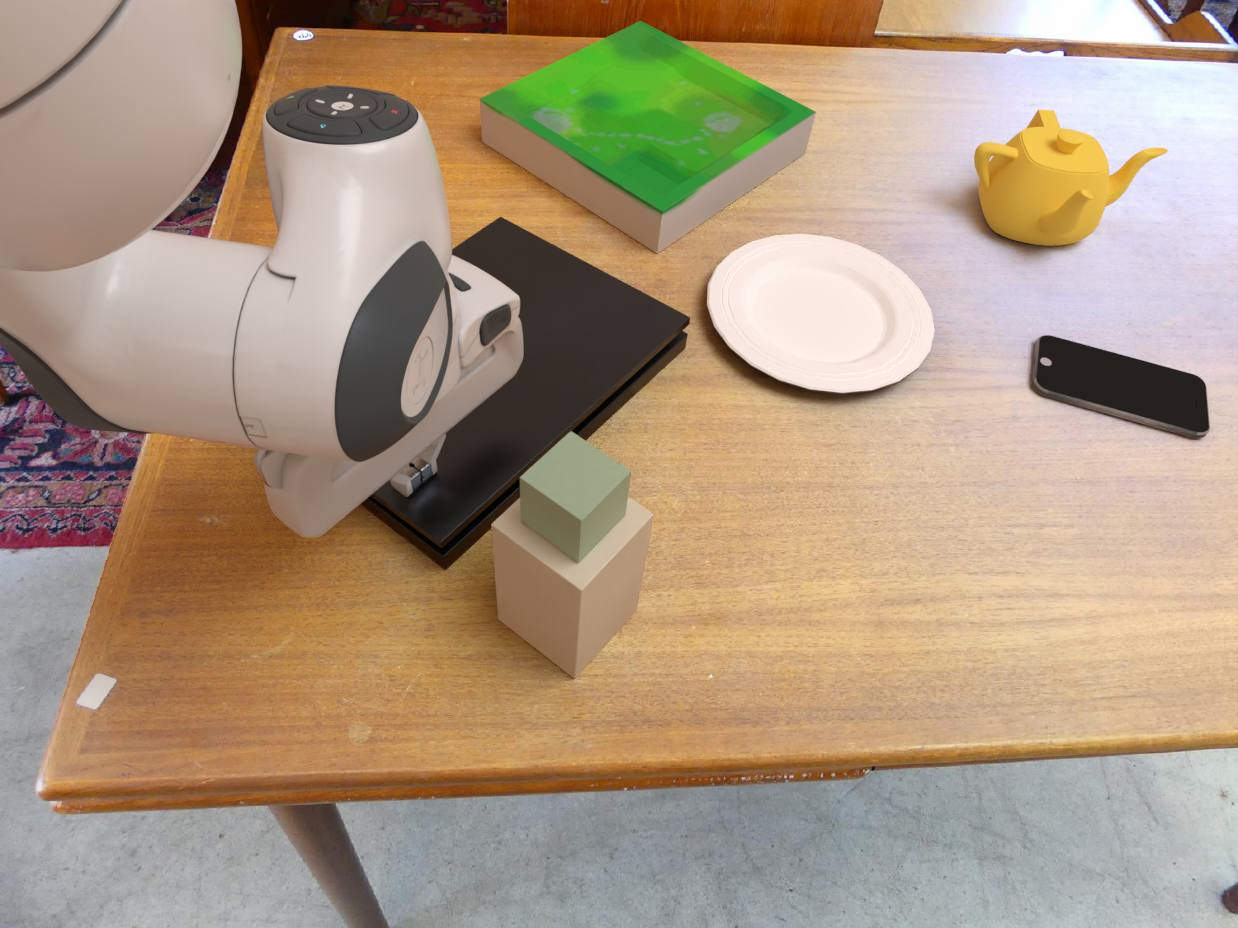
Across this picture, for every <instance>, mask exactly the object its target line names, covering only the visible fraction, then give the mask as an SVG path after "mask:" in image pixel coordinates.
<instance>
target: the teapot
mask: <svg viewBox="0 0 1238 928" xmlns="http://www.w3.org/2000/svg"><path fill="white" fill-rule="evenodd" d="M1168 152H1169V150H1168V149H1167V148H1165V147H1149V148H1145V149H1142V150H1140V151H1138V152H1137V153H1134V154H1133V155H1132V156H1131V157H1130V158H1129V159H1128V160H1127V161H1126V162H1125V163H1124V164H1123V165H1122V166H1121V167H1120V168H1119V169H1118V170H1116V171H1115V172H1114V173H1112V174H1110V165H1109V160H1108V158H1107V156H1106V153H1105V152H1104V150H1103V147H1102V146H1101V144H1100V142H1099V141H1098V140H1097V139H1096V138H1095V137H1094V136H1092V135H1090V134H1088V133H1085V132H1082V131H1079V130H1076V129H1075V130H1074V129H1071V128H1063V127H1061V126H1060V122H1059V120H1058V118H1057V115H1056V111H1055V110H1051V109H1037V111H1036V112H1035V113H1034V115H1033V117H1032V119H1031V120H1030V122H1029V123H1028V125H1027V126H1026V128H1024V129H1022V130H1021V131H1019V132H1018V133H1017V134H1015V135H1014V136H1013V137H1012V138H1011V139H1009V140H1008V141H1007V142H1006V143H1005V144H1002V143H999V142H992V141H987V142H983V143H980V144H978V146H976V148H975V151H974V155H973V163H974V167H975V170H976V174H977V177H978V179H979V180H978V195H979V202H980V207H981V210H982V213H983V217H984V218H985V221H986V223H987V225H988V226H989V228H990V229H991V230H993V231H994V233H996V234H998V235H999V236H1002V237H1003V238H1007V239H1010V240H1013V241H1017V242H1020V243H1024V244H1030V245H1034V246H1035V245H1036V246H1051V247H1052V246H1053V247H1055V246H1067V245H1072V244H1075V243H1077V242H1080V241H1082V240H1084V239H1086V238H1087V237H1089V236H1090V235H1092V234H1093V233H1094V232H1095V231H1096V229H1097V227H1098V226H1099V224H1100V222H1101V220H1102V217H1103V214H1104V212H1105V208H1106V207H1109V206H1110V205H1112V204H1114V203H1115V202H1116V201H1117V200H1119V199H1120V198H1121V197H1122V196H1123V194H1124V193H1125V192H1126V191H1127V190H1128V188H1129V187H1130V185H1131V183H1132V182H1133V180H1134V179H1135V177H1136V175H1137V174H1138V173H1139V171H1141V169H1142V168H1143V167H1144V166H1145V165H1146V164H1147V163H1149V162H1150V161H1152V160H1153V159H1156V158H1158V157H1161V156H1163V155H1165V154H1167V153H1168Z"/></svg>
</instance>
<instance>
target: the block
mask: <svg viewBox="0 0 1238 928" xmlns="http://www.w3.org/2000/svg"><path fill="white" fill-rule="evenodd" d="M631 477H632V470H631V469H629V468H627V467H626V466H625V465H623V464H621V463H620V462H619V461H617V460H615V459H614V458H612V457H611V456H609V455H608V454H607V453H605V452H604V451H602V450H601V449H599V448H598V447H596V446H595V445H593V444H591V443H590V442H589V441H587V440H586V441H585V440H584V439H582V438H581V437H579V436H578V435H576V434H575V433H573V432H572V431H570V432H569V433H568V434H567V435H566V436H565V437H564V438H562V439H561V440H560V441H559V442H558V443H557V444H556V445H555V446H554V447H553V448H551V449H550V450H549V451H548V452H547V453H546V454H545V455H544V456H543V457H541V458H540V459H539V460H538V461H537V462H536V463H535V464H534V465H533V466H532V467H530V468H529V469H528V470H527V471H526V472H525V473H524V474H523V475H522V476H520V510H521V522H522V523H523V524H524V525H526V526H527V527H529V528H530V529H531V530H533V531H534V532H536V533H537V534H538V535H540V536H541V537H542V538H544V539H545V540H547V541H548V542H549V543H551V544H552V545H554V546H555V547H556V548H558V549H559V550H560V551H562V552H563V553H565V554H566V555H567V556H569V557H570V558H571V559H573V560H574V561H576V562H577V563H580V562H581V561H582V560H583V559H584V557H585V556H586V555H587V554H588V553H589V552H590V551H591V550H592V549H593V548H594V547H595V546H596V545H597V544H598V543H599V542H600V541H601V540H602V539H603V538H604V537H605V536H606V535H607V534H608V533H609V532H610V531H611V530H612V529H613V528H614V527H615V526H616V525H617V524H618V523H619V521H620V520H621V519H622V518H623V517H624V516H625V515H626V507H627V500H628V497H629V492H630V484H631Z"/></svg>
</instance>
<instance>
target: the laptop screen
mask: <svg viewBox="0 0 1238 928" xmlns="http://www.w3.org/2000/svg"><path fill="white" fill-rule="evenodd" d="M452 255H454V256H456V257H458V258H460V259H462V260H464V261H466V262H468V263H470V264H472V265H474V266H476V267H478V268H479V269H481V270H483V271H485V272H486V273H488V274H489V275H491V276H493V277H494V278H496V279H497V280H499V281H500V282H502V283H503V284H504V285H506V286H507V287H508V288H510V289H511V290H512V291H514V292H515V293H516V294H517V295H518V296H519V298H520V312H519V315H518V317H519V318H520V321H521V324H522V331H523V347H524V352H523V361H522V363H521V365H520V367H519V369H518V371H517V373H516V375H515V376H514V377H513V378H512V379H511V380H509V381H508V382H507V383H506V384H504V385H503V386H502V387H501V388H500V389H498V390H497V391H496V392H495V393H493V394H492V395H491V396H490V397H489V398H487V399H486V400H485V401H484V402H483V403H481V404H480V405H479V406H478V407H477V408H475V409H474V410H473V411H472V412H471V413H469V414H468V415H467V416H466V417H465V418H463V419H462V420H461V421H460V422H459V423H457V424H456V425H455V426H454V427H452V428H451V429H450V430H449V431H448V432H446V438H445V440H444V443H443V445H442V447H441V450H440V452H439V455H438V457H437V458H436V463H437V470H438V471H437V472H436V473H435V474H434V475H433V476H431V477H430V478H429V479H428V480H427V481H425V482H424V483H423V484H422V485H420V486H419V487H418V488H417V489H416V490H415V491H414V492H412V493H411V494H410V495H409V496H408V497H405V496H404V495H402V494H401V493H400V492H398V491H397V490H396V489H395V488H394V487H393V486H392V485H391V483H390V480H389V481H387V482H386V483H385V484H384V485H383V486H381V487H380V488H379V489H378V490H377V491H375V492H374V493H373V494H372V495H371V497H373V498H374V499H375V500H377V501H378V502H379V503H381V504H382V505H383V506H385V507H386V508H388V509H389V510H390V511H392V512H393V513H394V514H396V515H397V516H398V517H400V518H401V519H403V520H404V521H405V522H407V523H408V524H409V525H411V526H412V527H413V528H415V529H416V530H417V531H419V532H420V533H422V534H423V535H424V536H426V537H427V538H428V539H430V540H431V541H432V542H434V543H435V544H437V545H438V546H439V547H441V548H443V547H444V546H445V545H446V544H447V543H449V542H450V541H451V540H452V539H453V538H454V537H455V536H456V535H457V534H459V533H460V532H461V531H462V530H463V529H464V528H465V527H466V526H467V525H468V524H470V523H471V522H472V521H473V520H474V519H475V518H476V517H477V516H478V515H479V514H481V513H482V512H483V511H484V510H485V509H486V508H487V507H488V506H489V505H491V504H492V503H493V502H494V501H495V500H496V499H497V498H498V497H499V496H500V495H502V494H503V493H504V492H505V491H506V490H507V489H508V488H509V487H510V486H511V485H513V484H514V483H515V482H516V481H517V480H518V479H519V478H520V476H522V475H523V474H524V473H525V472H526V471H527V470H528V469H529V468H530V467H532V466H533V465H534V464H535V463H536V462H537V461H538V460H539V459H540V458H541V457H543V456H544V455H545V454H546V453H547V452H548V451H549V450H550V449H551V448H553V447H554V446H555V445H556V444H557V443H558V442H559V441H560V440H561V439H562V438H564V437H565V436H566V435H567V434H568V433H569V432H570V431H572V430H573V429H574V428H575V427H577V426H578V425H579V424H580V423H581V422H582V421H583V420H584V419H585V418H587V417H588V416H589V415H590V414H591V413H592V412H593V411H594V410H595V409H596V408H598V407H599V406H600V405H601V404H602V403H603V402H604V401H605V400H606V399H608V398H609V397H610V396H611V395H612V394H613V393H614V392H615V391H616V390H617V389H619V388H620V387H621V386H622V385H623V384H624V383H625V382H626V381H627V380H628V379H630V378H631V377H632V376H633V375H634V374H635V373H636V372H637V371H638V370H640V369H641V368H642V367H643V366H644V365H645V364H646V363H647V362H648V361H649V360H651V359H652V358H653V357H654V356H655V355H656V354H657V353H658V352H659V351H660V350H662V349H663V348H664V347H665V346H666V345H667V344H668V343H669V342H670V341H672V340H673V339H674V338H675V337H676V336H677V335H678V334H679V333H680V332H681V331H684V330H685V329H686V328H687V327H688V326H689V325H690V324H691V317H690V316H688V315H687V314H685V313H682V312H681V311H679V310H677V309H675V308H673V307H672V306H669V305H668V304H666V303H664V302H662V301H660V300H658V299H656V298H655V297H653V296H651V295H649V294H647V293H645V292H643V291H641V290H639V289H638V288H635V287H634V286H632V285H630V284H628V283H627V282H625V281H623V280H621V279H620V278H617V277H615V276H613V275H612V274H609V273H608V272H606V271H604V270H602V269H600V268H598V267H596V266H595V265H593V264H590V263H589V262H587V261H585V260H583V259H581V258H580V257H578V256H576V255H573V254H572V253H570V252H569V251H567V250H564V249H563V248H560V247H559V246H557V245H555V244H553V243H551V242H550V241H548V240H546V239H544V238H541V237H539V236H538V235H536V234H535V233H532V232H530V231H528V230H527V229H525V228H523V227H521V226H519V225H517V224H515V223H514V222H512V221H510V220H508V219H506V218H504V217H503V216H499V217H497V218H496V219H494V220H493V221H492V222H490V223H488V224H487V225H486V226H484V227H483V228H481V229H480V230H478V231H477V232H476V233H473V234H472V235H471V236H469V237H468V238H466V239H465V240H463V241H462V242H460V243H459V244H458V245H456V246H455V247H452Z"/></svg>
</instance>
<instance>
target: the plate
mask: <svg viewBox="0 0 1238 928" xmlns="http://www.w3.org/2000/svg"><path fill="white" fill-rule="evenodd" d="M706 291H707V294H706V308H707V312H708V315H709V317H710V321H711V324H712V327H713V328H714V330H715V331H716V333H717V334H718V336H719V337H720V338H721V339H722V341H723V342H724V344H725V345H726V346H727V348H728V350H731V351H732V352H733V353H734V354H735V355H736V356H738V357H739V358H740V359H741V360H742V361H743V362H744V363H746V364H747V365H749V366H750V367H751V368H753V369H755V370H756V371H759V372H761V373H763V374H764V375H766V376H768V377H770V378H772V379H774V380H776V381H777V382H780V383H784V384H787V385H790V386H793V387H797V388H800V389H803V390H807V391H809V392H819V393H828V394H837V395H846V394H859V393H868V392H875V391H877V390H881V389H883V388H886V387H889V386H892V385H895V384H898V383H900V382H901V381H902V380H904V379H906V377H908V376H910V375H911V374H912V373H914V372H916V371H917V370H918V369H919V368H920V366H921V365H922V363H923V362H924V361H925V359H926V358H927V356H928V355H929V353H930V352H931V351H932V345H933V340H934V336H935V332H936V328H935V325H934V318H933V313H932V309H931V307H930V305H929V303H928V301H927V299H926V298H925V296H924V294H923V292H922V290H921V289H920V288H919V287H918V285H917V284H916V283H915V282H914V281H913V280H912V279H911V278H910V277H909V276H908V275H907V274H906V272H904V271H903V270H902V269H901V268H899V267H898V266H896V265H895V264H893V263H892V262H891V261H890V260H888V259H886V257H884V256H882V255H881V254H878V253H876V252H874V251H872V250H870V249H868V248H866V247H863V246H861V245H859V244H857V243H854V242H850V241H846V240H843V239H839V238H835V237H832V236H829V235H828V236H826V235H819V234H818V235H817V234H809V233H791V234H790V233H789V234H775V235H771V236H766V237H763V238H760V239H755V240H752V241H748V243H745V244H744V245H742V246H740V247H738V248H736V249H734V250H732V251H731V252H729V253H728V254H727V255H726V257H724V258H723V259H722V260H721V261H720V262H719V263H718V264H717V265H716V266H715V268H714V270H713V272H712V275H711V277H710V279H709V281H708V283H707V289H706Z"/></svg>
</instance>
